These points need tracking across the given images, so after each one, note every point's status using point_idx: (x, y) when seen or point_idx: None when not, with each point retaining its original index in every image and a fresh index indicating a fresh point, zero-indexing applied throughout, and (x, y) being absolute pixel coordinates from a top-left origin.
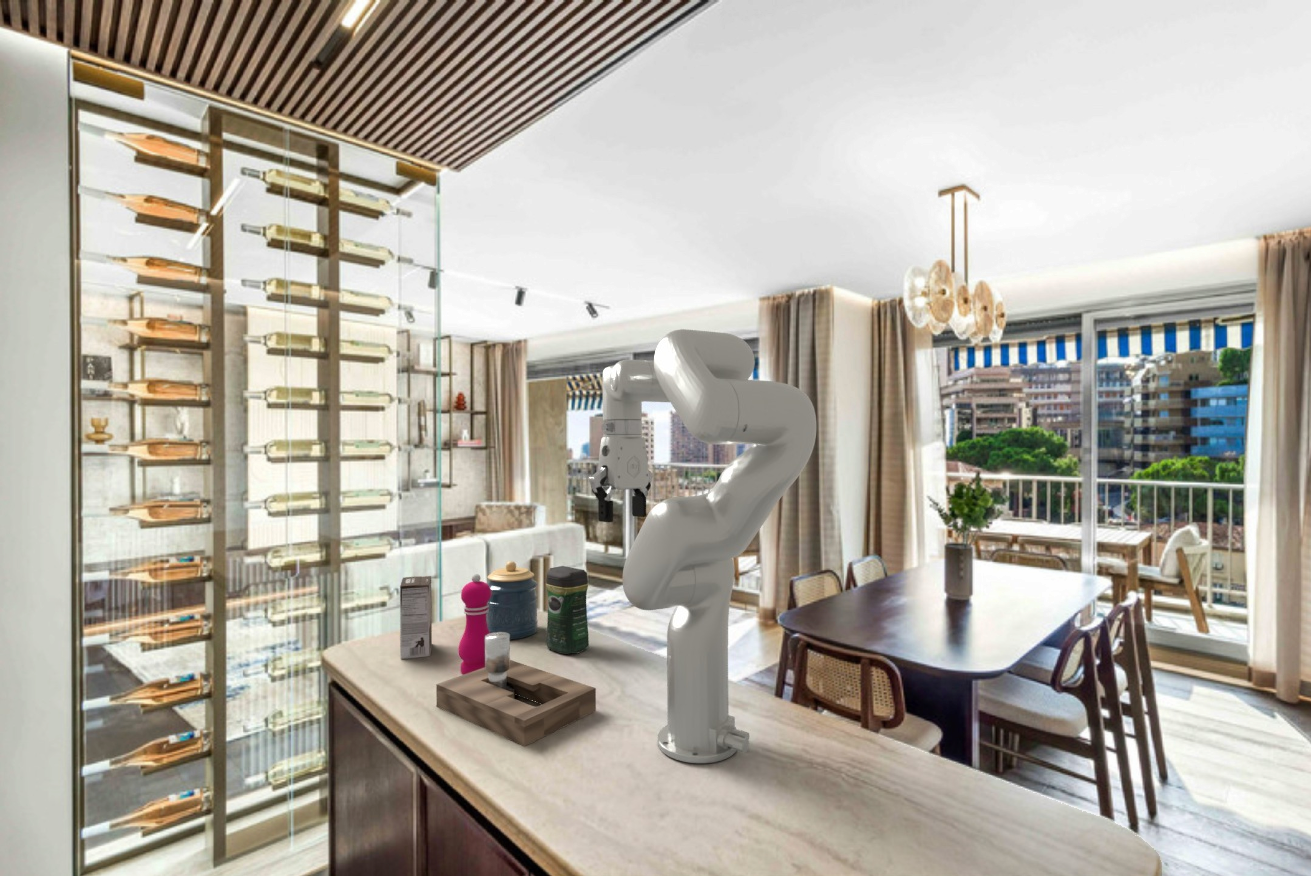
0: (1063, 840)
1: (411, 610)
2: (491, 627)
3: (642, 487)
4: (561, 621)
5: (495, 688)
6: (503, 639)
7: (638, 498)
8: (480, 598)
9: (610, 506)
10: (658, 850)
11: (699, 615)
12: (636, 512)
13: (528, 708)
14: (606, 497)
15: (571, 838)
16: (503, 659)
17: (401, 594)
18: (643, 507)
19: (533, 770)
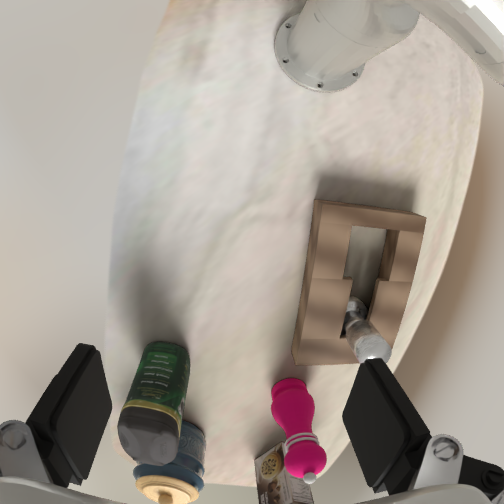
0: None
1: (302, 483)
2: (204, 447)
3: (68, 490)
4: (184, 385)
5: (376, 307)
6: (382, 342)
7: (71, 448)
8: (316, 447)
9: (412, 411)
10: (451, 39)
11: None
12: (102, 398)
13: (404, 235)
14: (461, 445)
15: (472, 96)
16: (371, 327)
17: (312, 499)
18: (79, 380)
19: (436, 174)
